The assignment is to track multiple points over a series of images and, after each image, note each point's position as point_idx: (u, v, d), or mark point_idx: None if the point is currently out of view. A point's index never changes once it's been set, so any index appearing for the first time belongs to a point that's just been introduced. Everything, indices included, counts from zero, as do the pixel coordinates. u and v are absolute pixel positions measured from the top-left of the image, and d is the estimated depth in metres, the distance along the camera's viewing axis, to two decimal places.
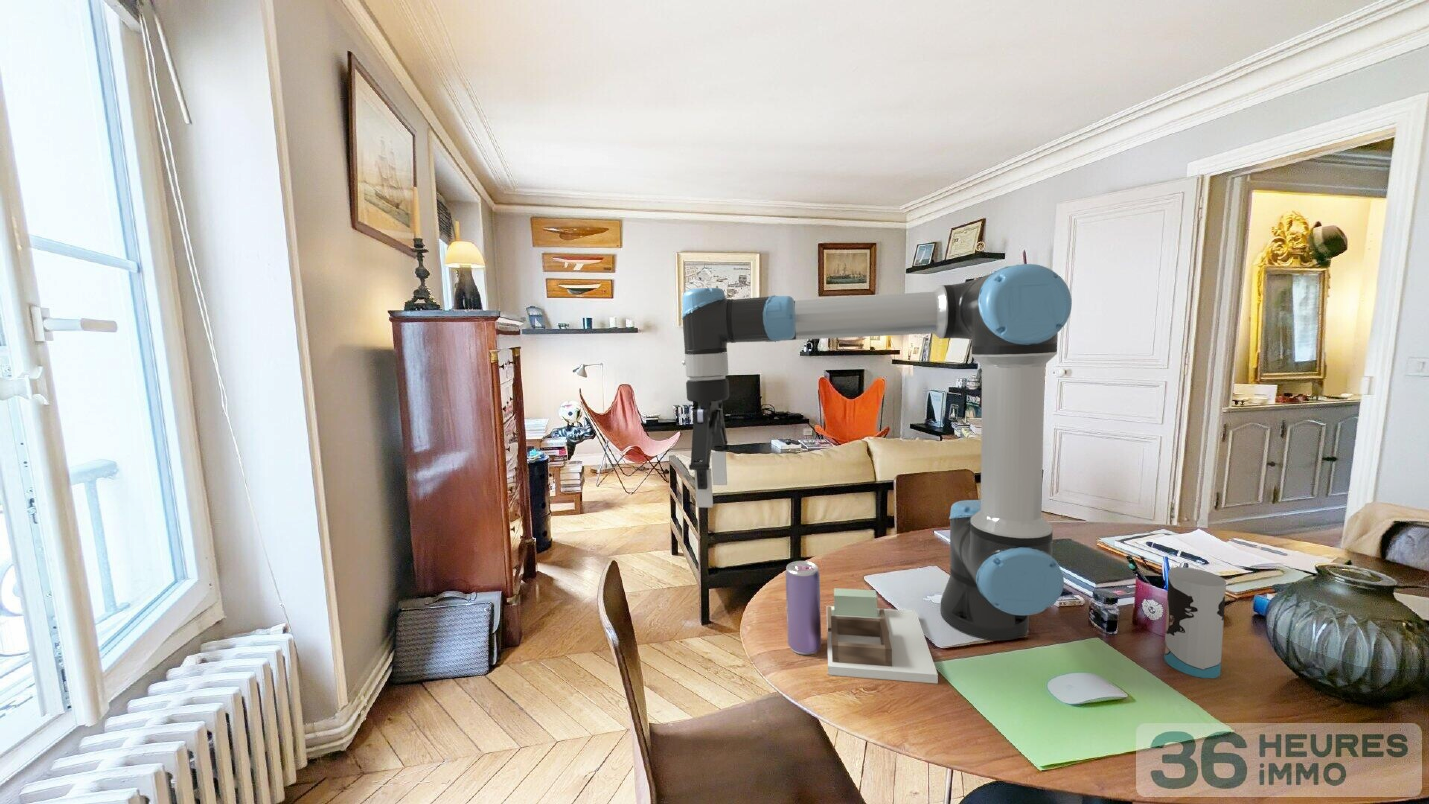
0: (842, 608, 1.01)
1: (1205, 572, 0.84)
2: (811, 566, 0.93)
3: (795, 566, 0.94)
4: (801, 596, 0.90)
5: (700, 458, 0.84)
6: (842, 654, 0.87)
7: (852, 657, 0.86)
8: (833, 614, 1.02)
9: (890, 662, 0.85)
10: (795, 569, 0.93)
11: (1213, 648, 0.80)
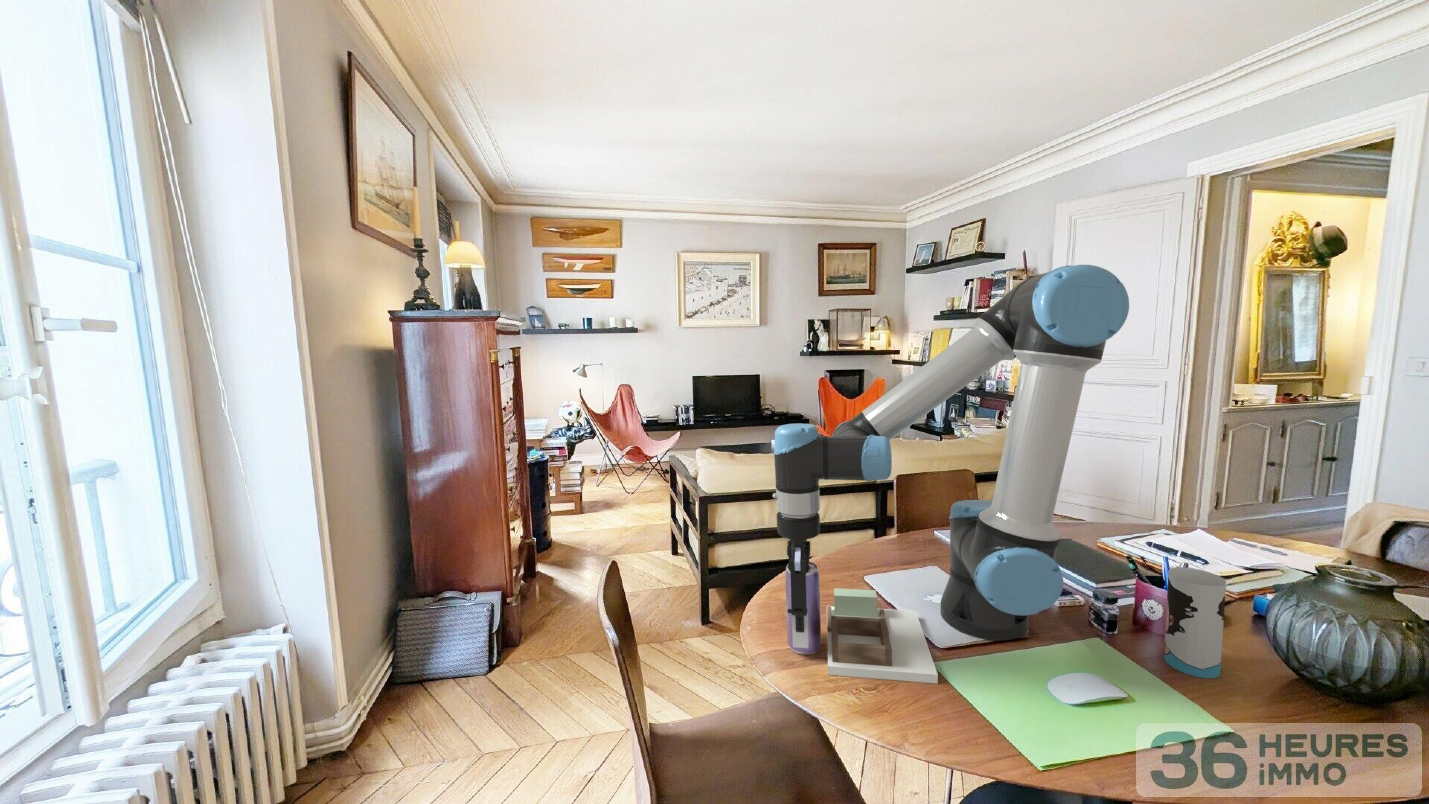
0: (842, 608, 1.01)
1: (1205, 572, 0.84)
2: (811, 566, 0.93)
3: None
4: None
5: (800, 607, 0.87)
6: (842, 654, 0.87)
7: (852, 657, 0.86)
8: (833, 614, 1.02)
9: (890, 662, 0.85)
10: None
11: (1213, 648, 0.80)
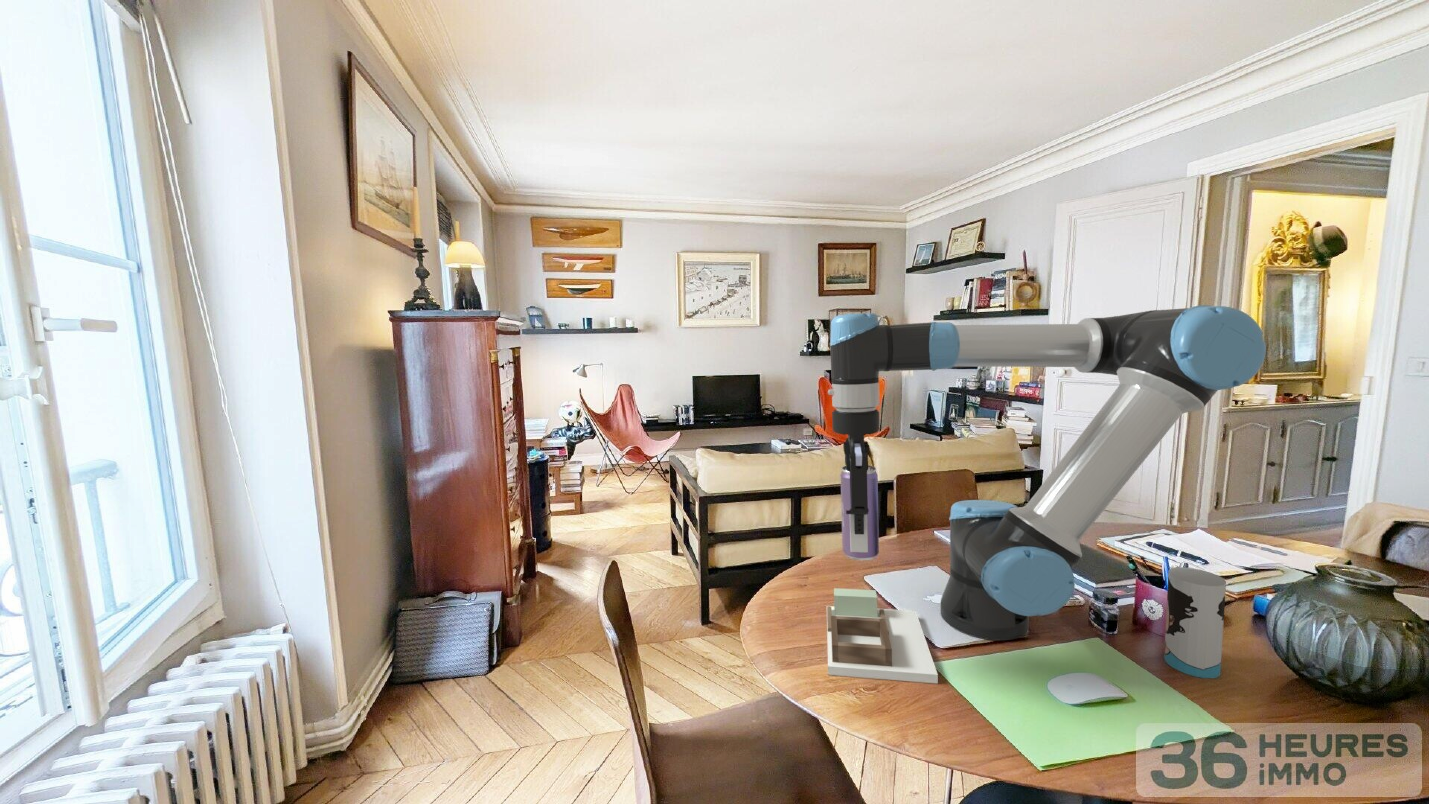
0: (842, 608, 1.01)
1: (1205, 572, 0.84)
2: (868, 467, 0.88)
3: None
4: None
5: (862, 505, 0.81)
6: (842, 654, 0.87)
7: (852, 657, 0.86)
8: (833, 614, 1.02)
9: (890, 662, 0.85)
10: None
11: (1213, 648, 0.80)
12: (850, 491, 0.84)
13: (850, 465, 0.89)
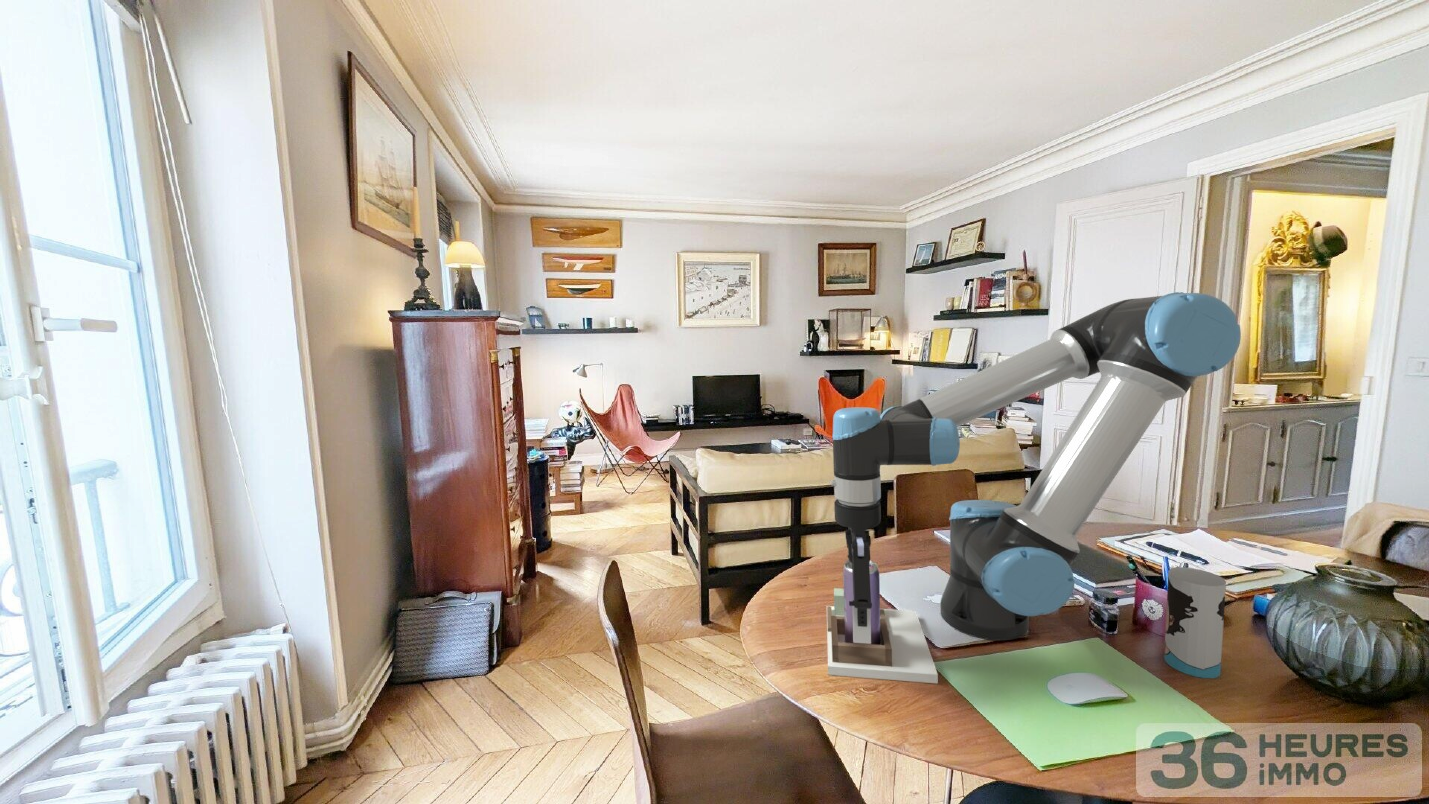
0: (842, 608, 1.01)
1: (1205, 572, 0.84)
2: (870, 564, 0.89)
3: None
4: None
5: (865, 598, 0.80)
6: (842, 654, 0.87)
7: (852, 657, 0.86)
8: (833, 614, 1.02)
9: (890, 662, 0.85)
10: None
11: (1213, 648, 0.80)
12: (853, 581, 0.84)
13: None
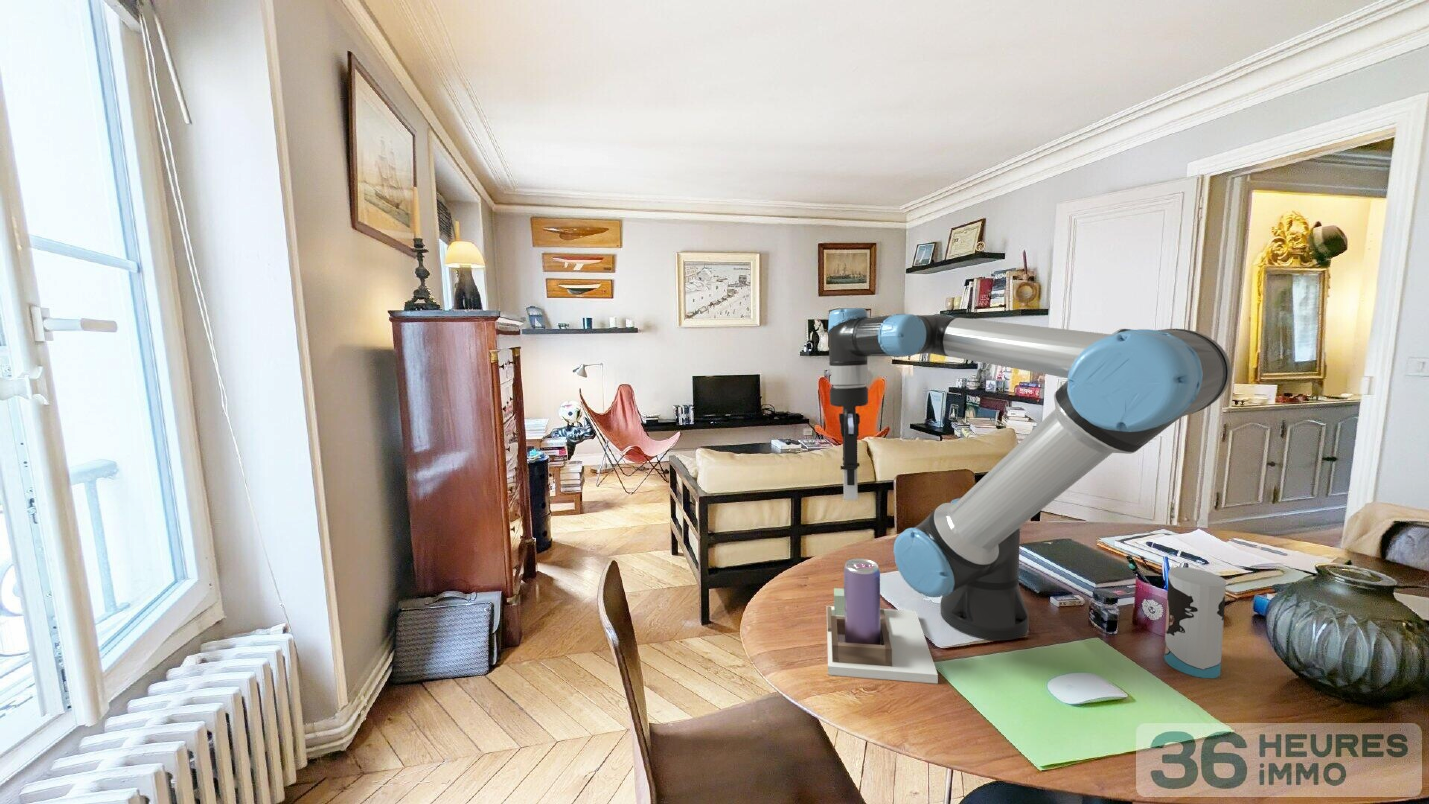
0: (842, 608, 1.01)
1: (1205, 572, 0.84)
2: (870, 564, 0.89)
3: (853, 564, 0.90)
4: (862, 595, 0.87)
5: (853, 462, 1.04)
6: (842, 654, 0.87)
7: (852, 657, 0.86)
8: (833, 614, 1.02)
9: (890, 662, 0.85)
10: (854, 567, 0.89)
11: (1213, 648, 0.80)
12: (844, 452, 1.06)
13: None
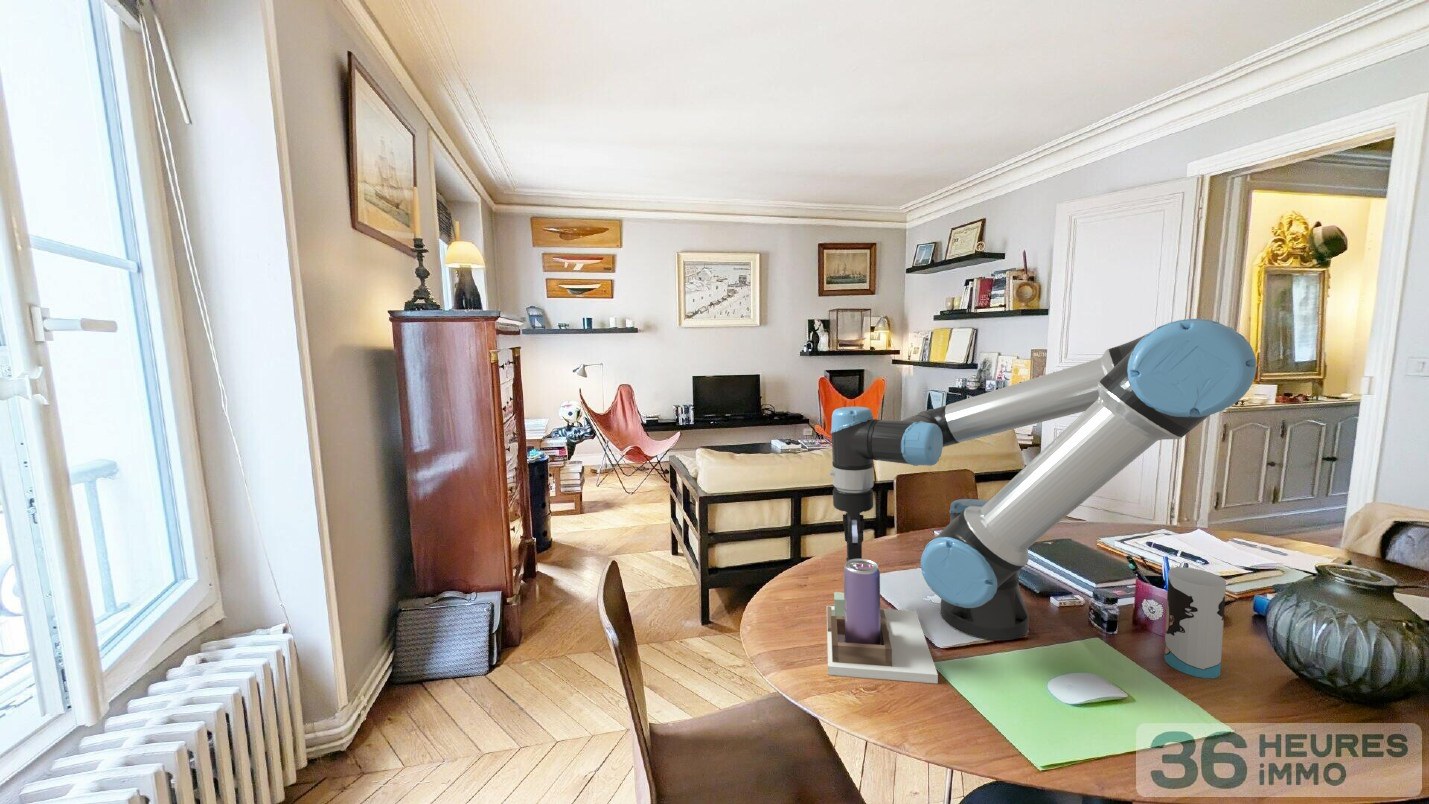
0: (842, 613, 1.00)
1: (1205, 572, 0.84)
2: (870, 564, 0.89)
3: (853, 564, 0.90)
4: (862, 595, 0.87)
5: None
6: (842, 654, 0.87)
7: (852, 657, 0.86)
8: (833, 614, 1.02)
9: (890, 662, 0.85)
10: (854, 567, 0.89)
11: (1213, 648, 0.80)
12: None
13: None
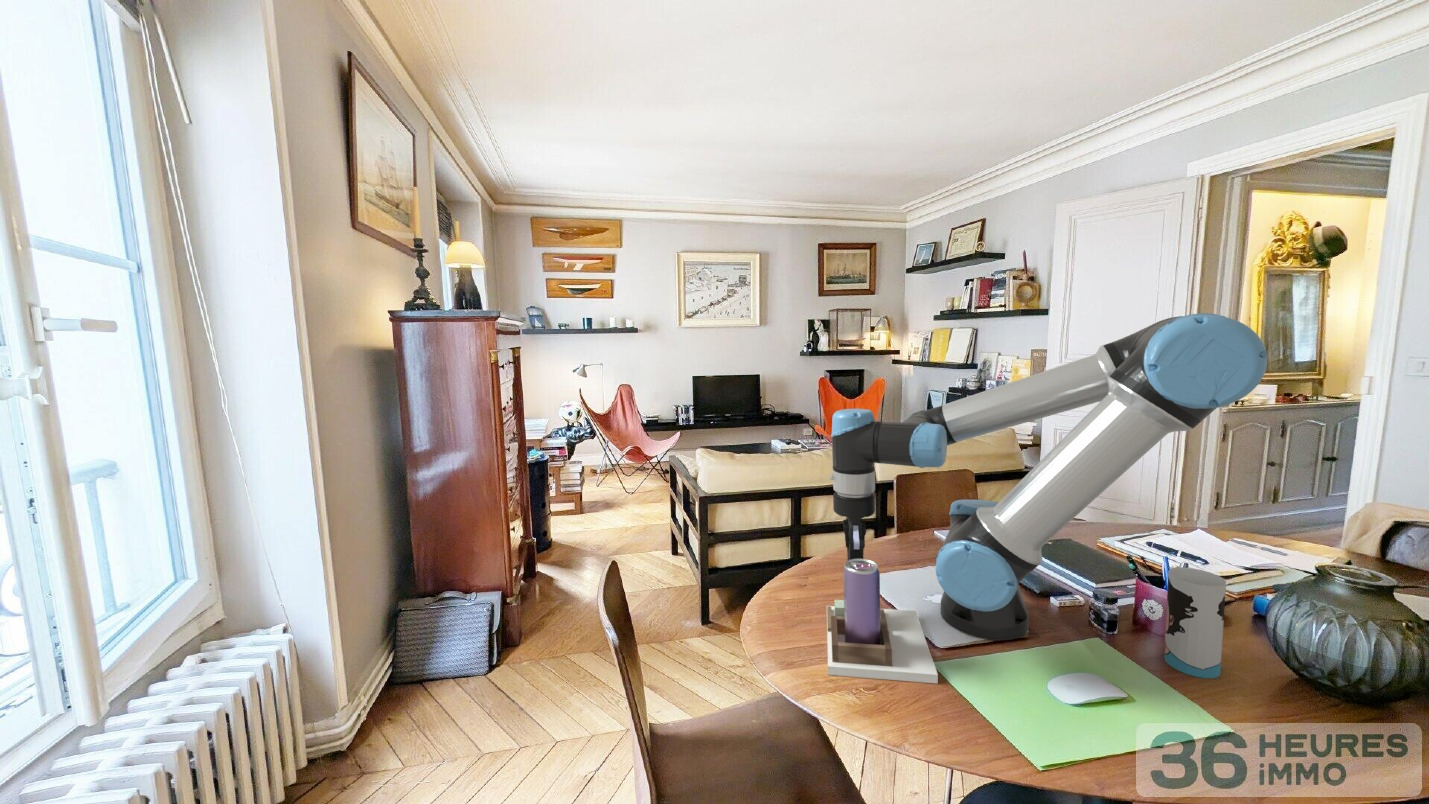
0: None
1: (1205, 572, 0.84)
2: (870, 564, 0.89)
3: (853, 564, 0.90)
4: (862, 595, 0.87)
5: None
6: (842, 654, 0.87)
7: (852, 657, 0.86)
8: (833, 614, 1.02)
9: (890, 662, 0.85)
10: (854, 567, 0.89)
11: (1213, 648, 0.80)
12: None
13: None
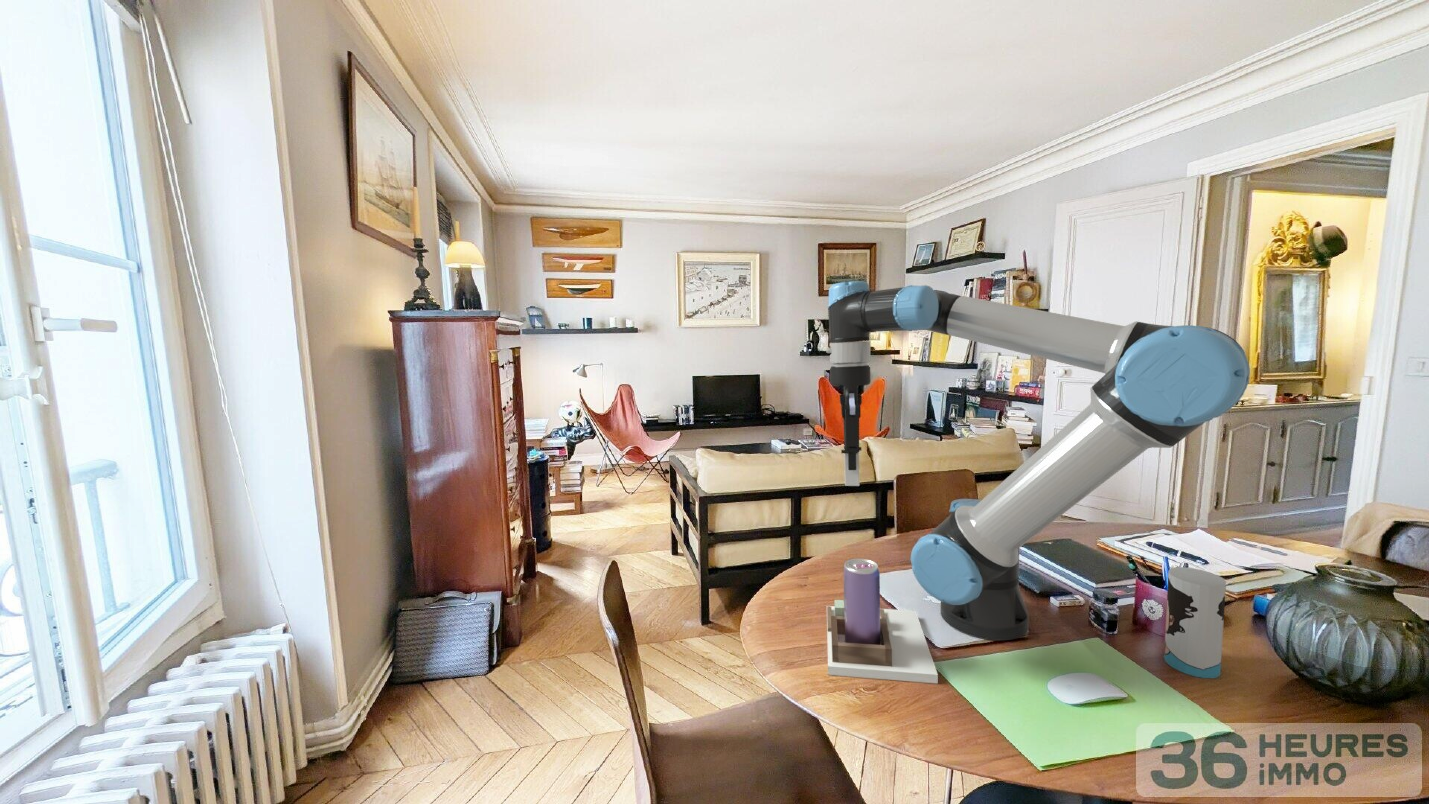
0: None
1: (1205, 572, 0.84)
2: (870, 564, 0.89)
3: (853, 564, 0.90)
4: (862, 595, 0.87)
5: (854, 445, 0.98)
6: (842, 654, 0.87)
7: (852, 657, 0.86)
8: (833, 614, 1.02)
9: (890, 662, 0.85)
10: (854, 567, 0.89)
11: (1213, 648, 0.80)
12: (845, 435, 1.00)
13: None
